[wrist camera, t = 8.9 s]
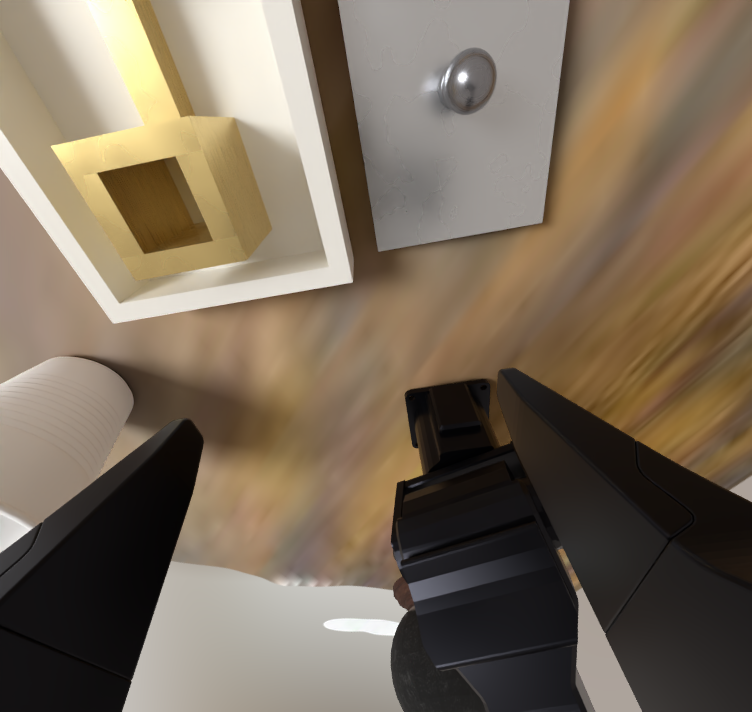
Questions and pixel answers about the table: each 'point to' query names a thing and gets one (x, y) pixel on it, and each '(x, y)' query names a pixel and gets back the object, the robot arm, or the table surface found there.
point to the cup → (55, 437)
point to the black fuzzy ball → (424, 669)
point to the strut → (147, 166)
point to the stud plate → (454, 112)
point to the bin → (208, 98)
